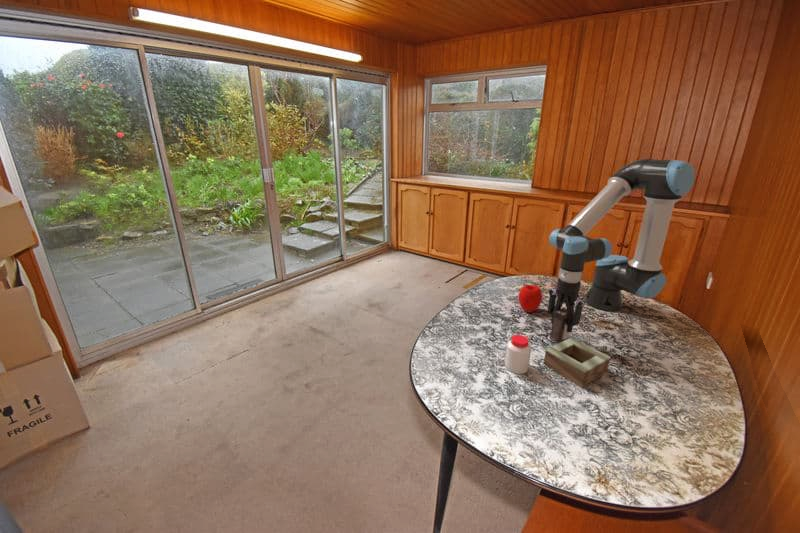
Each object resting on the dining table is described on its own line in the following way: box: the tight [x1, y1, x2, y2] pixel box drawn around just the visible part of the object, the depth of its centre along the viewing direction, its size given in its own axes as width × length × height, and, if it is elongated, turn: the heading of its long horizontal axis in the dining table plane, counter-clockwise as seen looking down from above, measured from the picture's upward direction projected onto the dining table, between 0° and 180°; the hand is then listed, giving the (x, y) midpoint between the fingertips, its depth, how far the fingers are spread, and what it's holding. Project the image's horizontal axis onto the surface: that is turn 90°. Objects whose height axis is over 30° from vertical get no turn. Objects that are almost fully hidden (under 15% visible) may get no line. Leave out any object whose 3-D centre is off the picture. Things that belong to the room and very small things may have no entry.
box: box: [549, 307, 569, 344], centre depth 132 cm, size 6×4×12 cm
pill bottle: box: [504, 334, 532, 375], centre depth 117 cm, size 8×8×11 cm
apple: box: [517, 284, 543, 313], centre depth 154 cm, size 10×10×12 cm
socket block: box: [543, 337, 611, 388], centre depth 117 cm, size 14×14×6 cm
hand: (559, 334), depth 134 cm, fingers closed on box, 4 cm apart
